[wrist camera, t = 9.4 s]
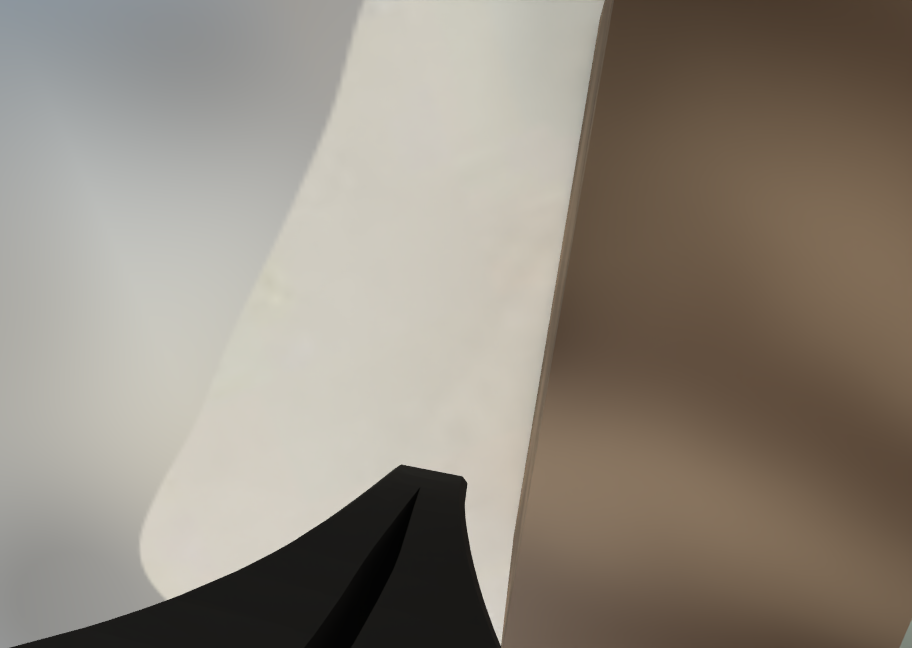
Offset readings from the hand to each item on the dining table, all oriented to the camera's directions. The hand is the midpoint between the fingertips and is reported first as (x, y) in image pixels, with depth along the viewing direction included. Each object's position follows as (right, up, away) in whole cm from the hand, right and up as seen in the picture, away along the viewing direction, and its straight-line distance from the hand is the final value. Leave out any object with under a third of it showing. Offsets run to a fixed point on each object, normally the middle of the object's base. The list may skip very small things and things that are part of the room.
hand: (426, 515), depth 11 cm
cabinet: (+8, +3, +7) cm, 12 cm away
